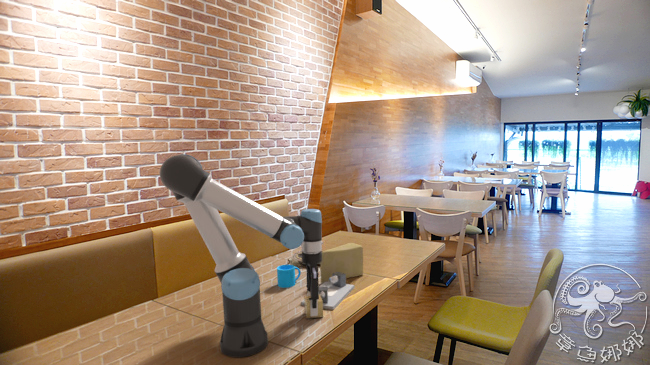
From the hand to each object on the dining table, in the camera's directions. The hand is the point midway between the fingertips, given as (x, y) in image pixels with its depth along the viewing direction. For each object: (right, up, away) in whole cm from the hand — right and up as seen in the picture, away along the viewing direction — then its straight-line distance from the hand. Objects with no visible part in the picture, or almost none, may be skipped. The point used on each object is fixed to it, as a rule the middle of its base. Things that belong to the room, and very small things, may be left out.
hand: (312, 311), depth 140 cm
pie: (-3, +4, +66) cm, 66 cm away
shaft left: (+4, +1, +11) cm, 12 cm away
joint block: (0, -1, 0) cm, 1 cm away
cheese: (+12, +3, +39) cm, 41 cm away
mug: (-12, +1, +34) cm, 36 cm away
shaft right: (+10, +3, +25) cm, 27 cm away
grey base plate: (+6, +1, +18) cm, 19 cm away
